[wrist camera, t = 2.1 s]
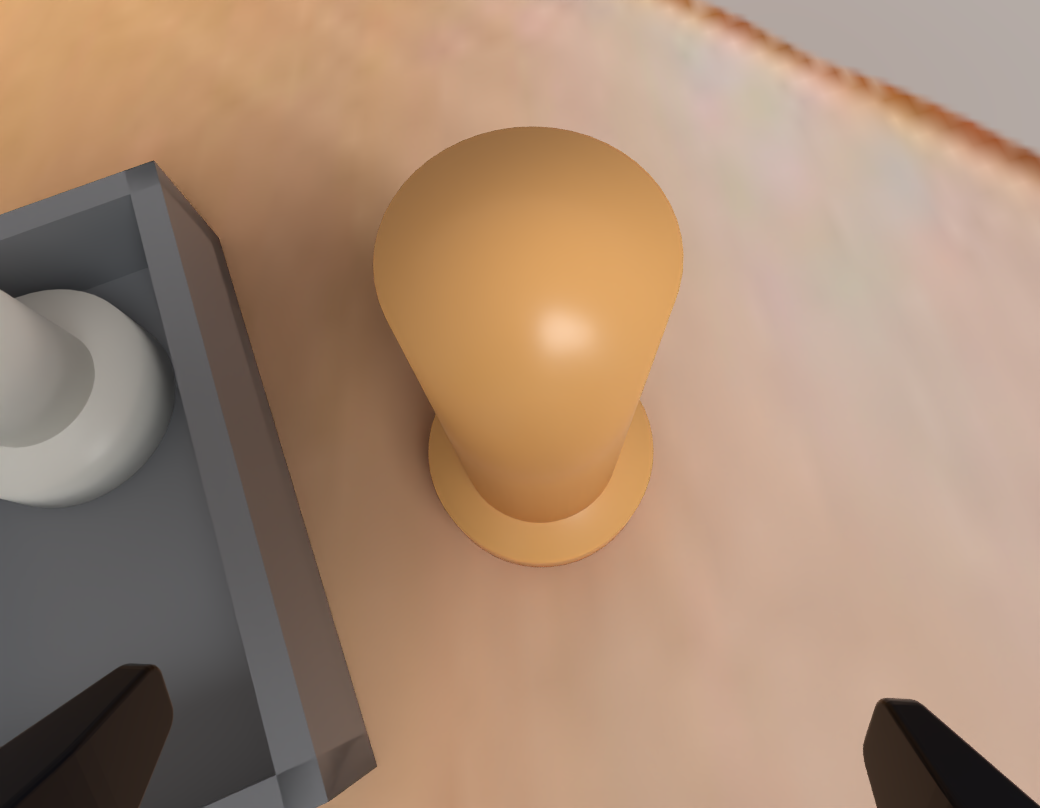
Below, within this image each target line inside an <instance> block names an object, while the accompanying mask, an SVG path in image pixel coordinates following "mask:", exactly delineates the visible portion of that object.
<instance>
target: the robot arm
mask: <svg viewBox="0 0 1040 808" xmlns="http://www.w3.org/2000/svg"><path fill="white" fill-rule="evenodd" d="M172 722H173V705H172V702H171V699H170V696H169V693H168V690H167V687H166V684H165V681H164V678H163V675H162V672H161V670H160V669H159V668H158V667H157V666H156V665H153V664H136V663H128V664H124V665H121V666H119V667H118V668H116V669H114V670H113V671H111V672H110V673H108V674H107V675H106V676H104V677H103V678H101V679H100V680H98V681H97V682H95V683H94V684H92V685H91V686H89V687H88V688H86V689H85V690H84V691H82V692H81V693H79V694H78V695H76V696H75V697H73V698H72V699H70V700H69V701H67V702H66V703H64V704H63V705H62V706H60V707H59V708H57V709H56V710H54V711H53V712H51V713H50V714H48V715H47V716H45V717H44V718H42V719H41V720H40V721H38V722H37V723H35V724H34V725H32V726H31V727H29V728H28V729H26V730H25V731H23V732H22V733H20V734H19V735H18V736H16V737H15V738H13V739H12V740H10V741H9V742H7V743H6V744H4V745H3V746H1V747H0V808H139V807H140V804H141V802H142V799H143V797H144V794H145V792H146V789H147V787H148V784H149V782H150V779H151V777H152V774H153V772H154V769H155V767H156V764H157V762H158V759H159V757H160V754H161V752H162V749H163V747H164V744H165V742H166V739H167V737H168V734H169V732H170V729H171V726H172ZM863 756H864V762H865V767H866V770H867V774H868V777H869V781H870V784H871V788H872V791H873V795H874V798H875V802H876V806H877V808H1040V806H1039V805H1038V804H1037V803H1036V802H1035V801H1034V800H1032V799H1031V798H1030V797H1029V796H1028V795H1027V794H1025V793H1024V792H1023V791H1022V790H1021V789H1020V788H1019V787H1017V786H1016V785H1015V784H1014V783H1013V782H1012V781H1010V780H1009V779H1008V778H1007V777H1006V776H1005V775H1003V774H1002V773H1001V772H1000V771H999V770H998V769H997V768H995V767H994V766H993V765H992V764H991V763H990V762H988V761H987V760H986V759H985V758H984V757H983V756H982V755H980V754H979V753H978V752H977V751H976V750H975V749H973V748H972V747H971V746H970V745H969V744H968V743H966V742H965V741H964V740H963V739H962V738H961V737H960V736H958V735H957V734H956V733H955V732H954V731H953V730H951V729H950V728H949V727H948V726H947V725H946V724H945V723H943V722H942V721H941V720H940V719H939V718H938V717H936V716H935V715H934V714H933V713H932V712H931V711H929V710H928V709H927V708H926V707H925V706H924V705H922V704H921V703H919V702H917V701H915V700H912V699H897V698H883V699H881V700H879V701H878V702H877V704H876V706H875V709H874V712H873V715H872V718H871V721H870V724H869V727H868V730H867V734H866V737H865V740H864V744H863Z"/></svg>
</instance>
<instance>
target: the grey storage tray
mask: <svg viewBox="0 0 1040 808" xmlns="http://www.w3.org/2000/svg"><path fill="white" fill-rule="evenodd" d="M128 663H136V664H153V665H156V666H157V667H158V668H159V669H160V670H161V672H162V675H163V678H164V681H165V684H166V687H167V690H168V693H169V696H170V699H171V702H172V705H173V722H172V726H171V729H170V732H169V734H168V737H167V739H166V742H165V744H164V747H163V749H162V752H161V754H160V757H159V759H158V762H157V764H156V767H155V769H154V772H153V774H152V777H151V779H150V782H149V784H148V787H147V789H146V792H145V794H144V797H143V799H142V802H141V804H140V807H139V808H316V807H318V806H320V805H323V804H325V803H327V802H329V801H330V800H332V799H333V798H334V797H336V796H337V795H339V794H340V793H341V792H343V791H344V790H345V789H347V788H348V787H349V786H351V785H352V784H354V783H355V782H356V781H358V780H359V779H360V778H362V777H363V776H365V775H366V774H367V773H369V772H370V771H371V770H373V769H374V768H376V767H377V765H376V761H375V758H374V755H373V751H372V748H371V745H370V741H369V738H368V735H367V731H366V728H365V725H364V721H363V718H362V715H361V711H360V708H359V705H358V701H357V698H356V695H355V691H354V688H353V685H352V681H351V678H350V675H349V671H348V668H347V665H346V661H345V658H344V655H343V651H342V648H341V645H340V641H339V638H338V635H337V631H336V628H335V625H334V621H333V618H332V615H331V611H330V608H329V605H328V601H327V598H326V595H325V591H324V588H323V585H322V581H321V578H320V575H319V571H318V568H317V564H316V561H315V558H314V554H313V551H312V548H311V544H310V541H309V538H308V534H307V531H306V528H305V524H304V521H303V518H302V514H301V511H300V508H299V504H298V501H297V498H296V494H295V491H294V488H293V484H292V481H291V478H290V474H289V471H288V468H287V464H286V461H285V458H284V454H283V451H282V448H281V444H280V441H279V438H278V434H277V431H276V428H275V424H274V421H273V418H272V414H271V411H270V408H269V404H268V401H267V398H266V394H265V391H264V388H263V384H262V381H261V378H260V374H259V371H258V368H257V364H256V361H255V358H254V354H253V351H252V348H251V344H250V341H249V338H248V334H247V331H246V328H245V324H244V321H243V318H242V314H241V311H240V308H239V304H238V301H237V297H236V294H235V291H234V287H233V284H232V281H231V277H230V274H229V271H228V267H227V264H226V261H225V257H224V254H223V251H222V247H221V244H220V241H219V238H218V237H217V235H216V234H215V233H214V232H213V231H212V229H211V228H210V227H209V226H208V225H207V223H206V222H205V221H204V220H203V219H202V217H201V216H200V215H199V214H198V213H197V211H196V210H195V209H194V208H193V207H192V205H191V204H190V203H189V202H188V201H187V199H186V198H185V197H184V196H183V195H182V194H181V192H180V191H179V190H178V189H177V188H176V186H175V185H174V184H173V183H172V182H171V180H170V179H169V178H168V177H167V176H166V174H165V173H164V172H163V171H162V170H161V168H160V167H159V166H158V165H157V164H156V162H155V161H151V162H148V163H145V164H142V165H139V166H137V167H134V168H131V169H128V170H125V171H123V172H120V173H117V174H114V175H111V176H108V177H106V178H103V179H100V180H97V181H94V182H92V183H89V184H86V185H83V186H80V187H77V188H75V189H72V190H69V191H66V192H63V193H60V194H58V195H55V196H52V197H49V198H46V199H44V200H41V201H38V202H35V203H32V204H29V205H27V206H24V207H21V208H18V209H15V210H12V211H10V212H7V213H4V214H1V215H0V747H1V746H3V745H4V744H6V743H7V742H9V741H10V740H12V739H13V738H15V737H16V736H18V735H19V734H20V733H22V732H23V731H25V730H26V729H28V728H29V727H31V726H32V725H34V724H35V723H37V722H38V721H40V720H41V719H42V718H44V717H45V716H47V715H48V714H50V713H51V712H53V711H54V710H56V709H57V708H59V707H60V706H62V705H63V704H64V703H66V702H67V701H69V700H70V699H72V698H73V697H75V696H76V695H78V694H79V693H81V692H82V691H84V690H85V689H86V688H88V687H89V686H91V685H92V684H94V683H95V682H97V681H98V680H100V679H101V678H103V677H104V676H106V675H107V674H108V673H110V672H111V671H113V670H114V669H116V668H118V667H119V666H121V665H124V664H128Z"/></svg>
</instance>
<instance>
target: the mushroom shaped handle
mask: <svg viewBox="0 0 1040 808" xmlns="http://www.w3.org/2000/svg"><path fill="white" fill-rule="evenodd" d="M373 273H374V284H375V288H376V293H377V297H378V301H379V303H380V306H381V308H382V311H383V313H384V316H385V318H386V320H387V322H388V324H389V326H390V327H391V329H392V331H393V333H394V335H395V337H396V339H397V341H398V343H399V345H400V347H401V348H402V350H403V352H404V354H405V356H406V358H407V360H408V362H409V364H410V366H411V368H412V369H413V371H414V373H415V375H416V377H417V379H418V381H419V383H420V385H421V387H422V389H423V391H424V392H425V394H426V396H427V398H428V400H429V402H430V404H431V406H432V408H433V410H434V412H435V413H436V414H435V417H434V420H433V423H432V426H431V431H430V437H429V449H428V457H429V468H430V473H431V477H432V481H433V485H434V487H435V490H436V492H437V495H438V497H439V499H440V501H441V503H442V505H443V506H444V508H445V510H446V511H447V512H448V514H449V515H450V517H451V518H452V519H453V521H454V522H455V523H456V524H457V525H458V527H459V528H460V529H461V530H462V531H463V532H464V533H465V534H466V535H467V536H468V537H469V538H470V539H471V540H472V541H473V542H474V543H475V544H477V545H478V546H479V547H480V548H482V549H483V550H485V551H486V552H488V553H490V554H492V555H493V556H495V557H498V558H500V559H502V560H505V561H507V562H511V563H514V564H518V565H522V566H531V567H553V566H560V565H565V564H569V563H572V562H576V561H579V560H581V559H583V558H586V557H588V556H590V555H592V554H593V553H595V552H597V551H598V550H600V549H602V548H603V547H604V546H606V545H607V544H608V543H609V542H610V541H612V540H613V539H614V538H615V537H616V536H617V535H618V534H619V532H620V531H621V530H622V529H623V528H624V526H625V525H626V524H627V522H628V521H629V519H630V518H631V516H632V515H633V513H634V512H635V510H636V509H637V507H638V505H639V503H640V501H641V499H642V497H643V496H644V494H645V491H646V488H647V485H648V482H649V479H650V475H651V470H652V464H653V440H652V433H651V428H650V424H649V420H648V418H647V415H646V412H645V409H644V407H643V405H642V404H641V402H640V400H639V399H640V397H641V394H642V391H643V388H644V386H645V383H646V380H647V377H648V374H649V372H650V369H651V366H652V363H653V361H654V358H655V355H656V352H657V350H658V347H659V344H660V341H661V338H662V336H663V333H664V330H665V327H666V325H667V322H668V319H669V316H670V314H671V311H672V308H673V305H674V303H675V300H676V297H677V294H678V291H679V287H680V282H681V277H682V273H683V246H682V237H681V233H680V229H679V225H678V222H677V219H676V216H675V214H674V212H673V209H672V207H671V205H670V203H669V201H668V199H667V198H666V196H665V194H664V193H663V191H662V189H661V188H660V187H659V186H658V184H657V183H656V182H655V181H654V179H653V178H652V177H651V176H650V175H649V174H648V173H647V172H646V171H645V170H644V169H643V168H642V167H641V166H640V165H639V164H638V163H637V162H635V161H634V160H632V159H631V158H630V157H628V156H627V155H626V154H624V153H623V152H621V151H619V150H618V149H616V148H614V147H612V146H610V145H609V144H607V143H605V142H602V141H600V140H597V139H595V138H593V137H590V136H587V135H584V134H580V133H577V132H573V131H569V130H563V129H557V128H549V127H514V128H507V129H501V130H495V131H491V132H487V133H483V134H480V135H477V136H474V137H471V138H469V139H466V140H463V141H461V142H459V143H457V144H455V145H453V146H451V147H449V148H447V149H445V150H443V151H442V152H440V153H439V154H437V155H436V156H434V157H433V158H431V159H430V160H428V161H427V162H426V163H425V164H424V165H422V166H421V167H420V168H419V169H417V170H416V171H415V172H414V173H413V174H412V175H411V176H410V178H409V179H408V180H407V181H406V182H405V183H404V184H403V185H402V187H401V188H400V189H399V191H398V192H397V193H396V195H395V196H394V197H393V199H392V201H391V203H390V204H389V206H388V208H387V210H386V212H385V214H384V216H383V219H382V221H381V224H380V226H379V229H378V233H377V237H376V242H375V246H374V256H373Z"/></svg>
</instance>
